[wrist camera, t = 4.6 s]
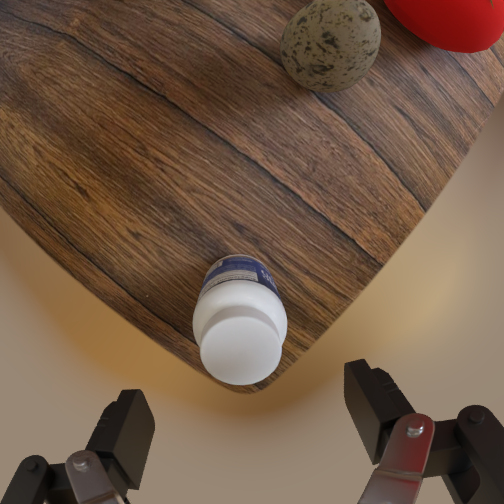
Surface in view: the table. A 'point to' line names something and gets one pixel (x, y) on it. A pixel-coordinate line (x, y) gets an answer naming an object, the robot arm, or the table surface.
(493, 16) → the tomato
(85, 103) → the table surface
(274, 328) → the pill bottle
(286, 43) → the decorative egg
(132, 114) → the table surface
